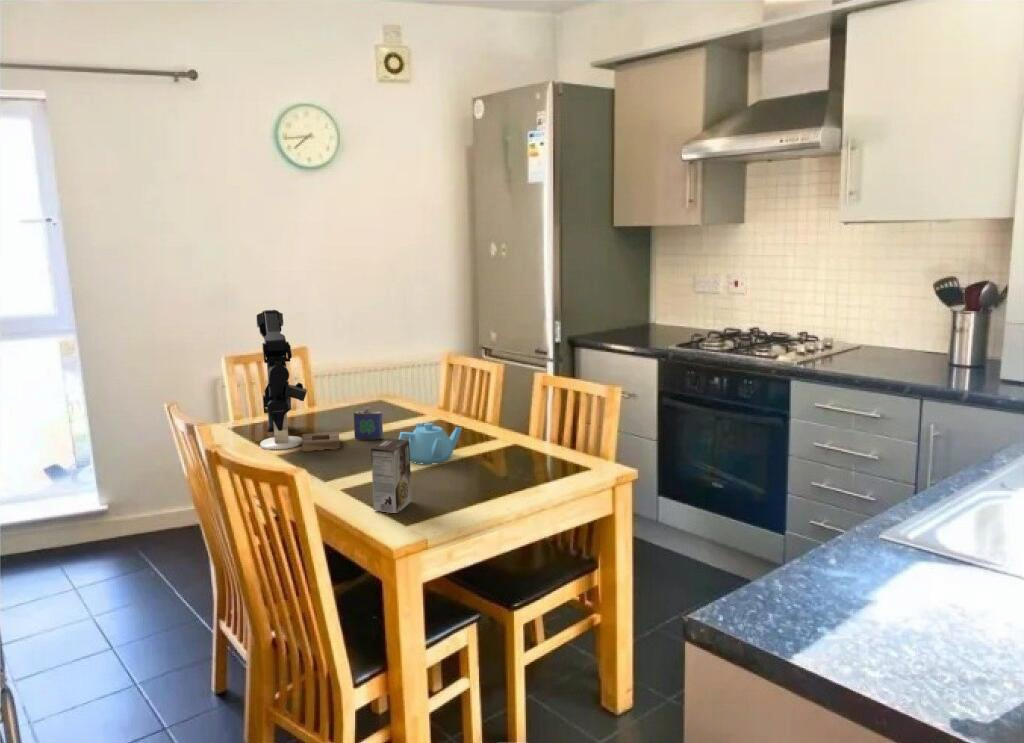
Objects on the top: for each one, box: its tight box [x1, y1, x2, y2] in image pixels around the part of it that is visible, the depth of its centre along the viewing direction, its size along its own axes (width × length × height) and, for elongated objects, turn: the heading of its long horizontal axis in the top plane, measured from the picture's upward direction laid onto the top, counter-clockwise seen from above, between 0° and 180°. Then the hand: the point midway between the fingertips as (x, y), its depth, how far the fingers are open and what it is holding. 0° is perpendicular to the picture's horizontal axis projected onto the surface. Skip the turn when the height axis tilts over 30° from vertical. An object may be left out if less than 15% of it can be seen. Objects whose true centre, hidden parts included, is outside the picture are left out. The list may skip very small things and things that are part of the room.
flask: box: [353, 406, 384, 441], centre depth 248 cm, size 9×3×11 cm, turn 87°
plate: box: [259, 435, 302, 451], centre depth 244 cm, size 13×13×1 cm
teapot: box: [398, 422, 463, 465], centre depth 227 cm, size 15×15×11 cm
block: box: [273, 412, 289, 444], centre depth 243 cm, size 4×4×9 cm
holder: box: [301, 431, 341, 452], centre depth 242 cm, size 11×11×2 cm
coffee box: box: [370, 437, 413, 513], centre depth 188 cm, size 9×6×16 cm
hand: (280, 426), depth 243 cm, fingers open, 9 cm apart
